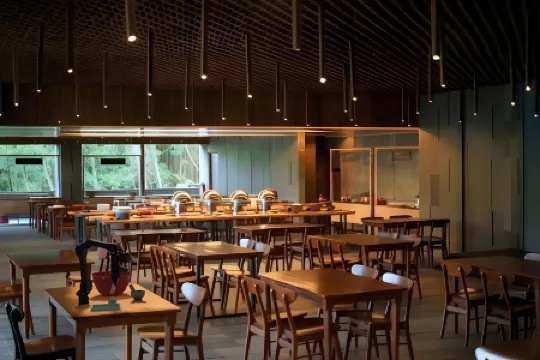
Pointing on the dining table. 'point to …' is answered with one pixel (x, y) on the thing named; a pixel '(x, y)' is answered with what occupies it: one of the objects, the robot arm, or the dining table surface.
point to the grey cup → (112, 301)
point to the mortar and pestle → (136, 293)
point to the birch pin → (112, 289)
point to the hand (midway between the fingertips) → (115, 286)
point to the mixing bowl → (110, 282)
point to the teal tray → (105, 307)
